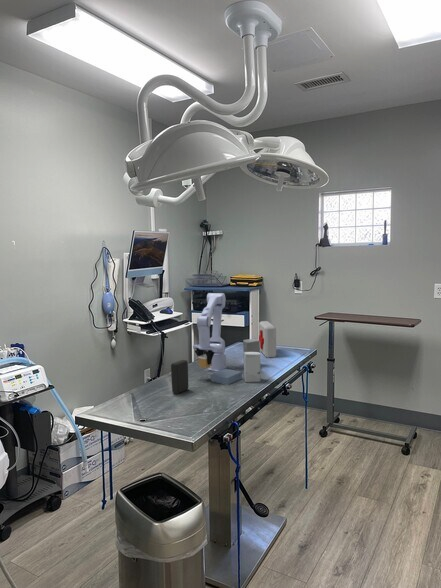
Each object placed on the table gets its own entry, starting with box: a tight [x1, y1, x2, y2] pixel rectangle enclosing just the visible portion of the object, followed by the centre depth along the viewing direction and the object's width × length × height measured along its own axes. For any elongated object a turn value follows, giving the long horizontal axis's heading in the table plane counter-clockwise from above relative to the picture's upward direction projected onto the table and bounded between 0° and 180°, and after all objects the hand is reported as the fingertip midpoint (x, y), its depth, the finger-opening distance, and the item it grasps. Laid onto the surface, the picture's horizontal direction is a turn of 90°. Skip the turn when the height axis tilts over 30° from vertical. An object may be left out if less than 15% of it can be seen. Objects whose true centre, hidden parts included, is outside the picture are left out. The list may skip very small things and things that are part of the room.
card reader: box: [170, 359, 189, 395], centre depth 214 cm, size 9×4×15 cm, turn 145°
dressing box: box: [210, 368, 243, 386], centre depth 231 cm, size 13×11×4 cm
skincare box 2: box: [243, 351, 261, 383], centre depth 229 cm, size 8×6×15 cm
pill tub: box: [197, 353, 212, 369], centre depth 231 cm, size 5×5×6 cm
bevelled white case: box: [258, 320, 277, 359], centre depth 282 cm, size 21×8×20 cm, turn 6°
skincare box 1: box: [242, 338, 261, 354], centre depth 255 cm, size 8×7×16 cm
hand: (205, 363), depth 232 cm, fingers closed on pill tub, 5 cm apart
